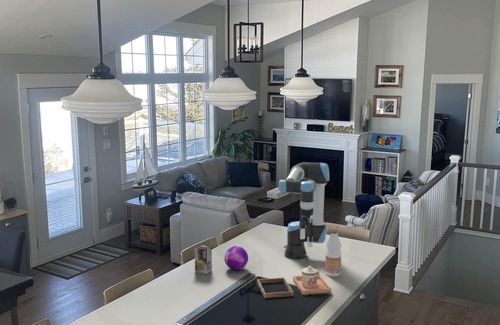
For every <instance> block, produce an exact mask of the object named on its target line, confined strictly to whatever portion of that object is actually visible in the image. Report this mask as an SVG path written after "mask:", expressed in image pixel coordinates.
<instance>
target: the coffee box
mask: <svg viewBox="0 0 500 325" xmlns="http://www.w3.org/2000/svg"><path fill="white" fill-rule="evenodd" d="M193 250H194V272H195V273H199V274H205V275H208V274H210V273H211V272H212V269H213V266H212V265H213V264H212V263H213V262H212V261H213V260H212V251H213V250H212V246H210V245H205V244H204V245H203V244H198V245H197V246H196V247H194V249H193Z"/></svg>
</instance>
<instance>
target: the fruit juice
mask: <svg viewBox="0 0 500 325" xmlns="http://www.w3.org/2000/svg"><path fill="white" fill-rule="evenodd" d="M329 233H330V235H329V238H328V240H327V241H326V251H325V267H324V268H325V270H324V271H325V272H324V273H325V275H326V276H328V277H339V276H341V272H342V271H341V268H342V250H341V249H342V242H341V241H340V238H339V230H337V229H331V230H330V231H329Z"/></svg>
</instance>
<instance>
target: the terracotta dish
mask: <svg viewBox="0 0 500 325" xmlns="http://www.w3.org/2000/svg"><path fill="white" fill-rule="evenodd" d="M292 281H293V283H294V285H295V286H296V288H297V290H298V291H299V290H300V291H299V292H300V293H301V295H302V296H310V295H309V294H311V295H321V294H331V293H332V288H331V286H329V284H328V283H327V282H326V281H325V280H324V278H323V277H322V276H321V274H319V277H318V279H317V286H316V287H315V288H305V287H303V286H302V275H294V276H292Z"/></svg>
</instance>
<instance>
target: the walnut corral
mask: <svg viewBox="0 0 500 325" xmlns="http://www.w3.org/2000/svg"><path fill="white" fill-rule="evenodd" d="M271 283H272V284H273V283H274V284H275V283H283V284H284V285H285V287H286V289H287V290H288V291H280V292H279V291H278V292H265V289H264V288H263V285H262V284H271ZM256 284H257V286H258V288H259V290H260V292H261V294H262V296H263V298H264V299H268V298H269V299H270V298H283V297H293V296H294V290H293V289H292V287H291V286H290V284H289V283H288V281H287V279H286V278H285V277H276V278H275V277H274V278H272V277H271V278H258V279H256Z"/></svg>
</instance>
